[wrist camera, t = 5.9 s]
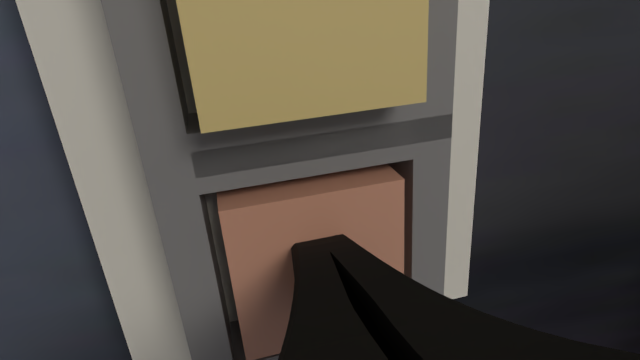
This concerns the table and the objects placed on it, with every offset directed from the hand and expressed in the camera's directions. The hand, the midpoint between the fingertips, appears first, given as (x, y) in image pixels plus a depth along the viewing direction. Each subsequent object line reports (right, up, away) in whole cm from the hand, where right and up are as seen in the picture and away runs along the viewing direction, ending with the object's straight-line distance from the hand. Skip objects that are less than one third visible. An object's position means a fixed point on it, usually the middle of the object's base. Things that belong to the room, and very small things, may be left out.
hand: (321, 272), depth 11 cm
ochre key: (-1, +6, -2) cm, 7 cm away
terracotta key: (0, +1, +2) cm, 2 cm away
